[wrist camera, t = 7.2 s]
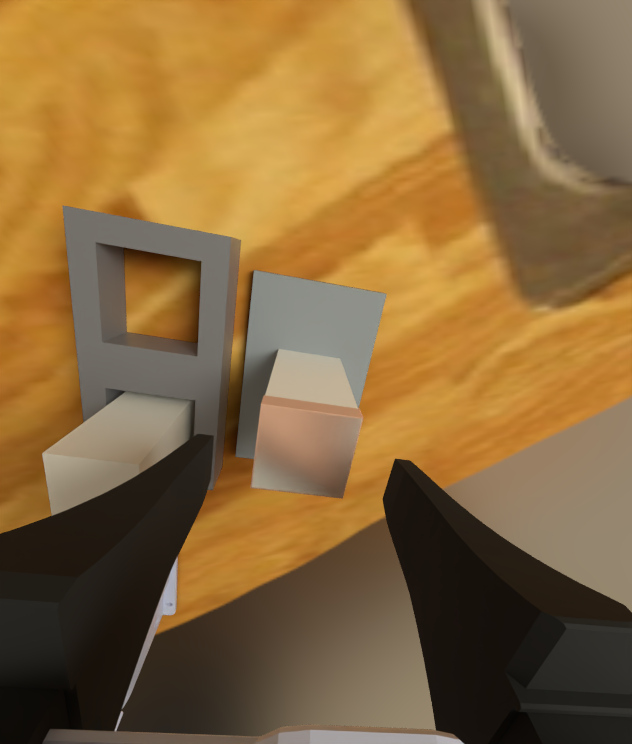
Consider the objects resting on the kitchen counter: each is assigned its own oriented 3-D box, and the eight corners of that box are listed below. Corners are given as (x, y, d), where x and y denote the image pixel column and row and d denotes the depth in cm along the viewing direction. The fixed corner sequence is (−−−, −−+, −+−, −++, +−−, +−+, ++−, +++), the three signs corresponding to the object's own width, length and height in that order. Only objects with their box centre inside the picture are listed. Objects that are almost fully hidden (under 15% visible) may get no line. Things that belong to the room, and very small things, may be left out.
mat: (342, 464, 23) (343, 469, 23) (237, 451, 23) (235, 456, 22) (384, 293, 19) (386, 294, 18) (255, 269, 18) (253, 270, 18)
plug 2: (329, 413, 21) (342, 498, 14) (270, 405, 21) (250, 488, 13) (340, 357, 20) (363, 418, 12) (278, 347, 19) (261, 403, 12)
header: (222, 466, 23) (212, 490, 21) (111, 453, 22) (88, 476, 20) (240, 240, 18) (231, 237, 15) (96, 213, 17) (62, 205, 15)
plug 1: (196, 440, 22) (141, 532, 15) (139, 433, 22) (53, 524, 14) (198, 390, 21) (139, 464, 13) (138, 382, 21) (42, 453, 13)
